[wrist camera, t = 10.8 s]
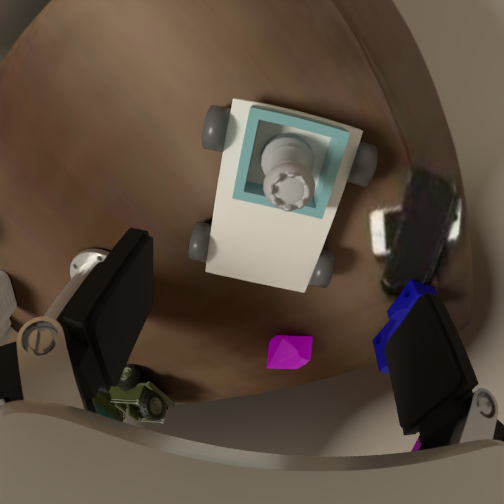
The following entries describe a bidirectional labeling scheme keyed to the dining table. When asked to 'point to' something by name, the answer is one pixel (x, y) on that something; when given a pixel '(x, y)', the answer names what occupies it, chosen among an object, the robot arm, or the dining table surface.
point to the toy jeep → (133, 399)
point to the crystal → (289, 351)
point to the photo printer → (6, 298)
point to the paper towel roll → (5, 332)
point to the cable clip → (398, 317)
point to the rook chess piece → (288, 171)
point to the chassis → (261, 210)
